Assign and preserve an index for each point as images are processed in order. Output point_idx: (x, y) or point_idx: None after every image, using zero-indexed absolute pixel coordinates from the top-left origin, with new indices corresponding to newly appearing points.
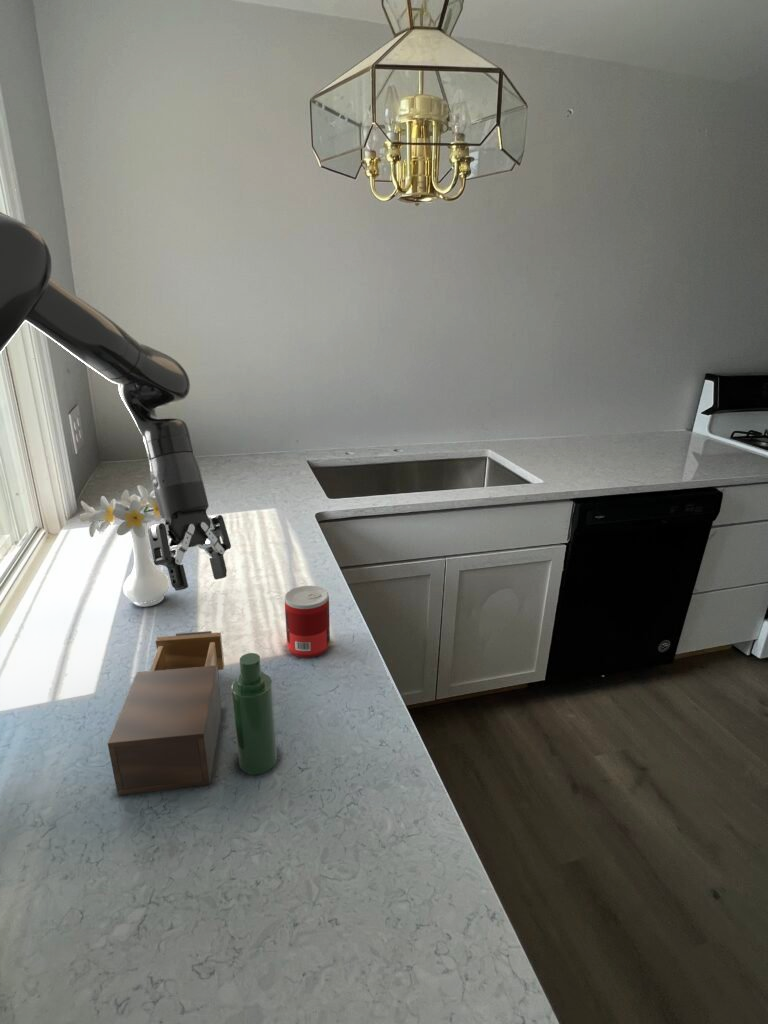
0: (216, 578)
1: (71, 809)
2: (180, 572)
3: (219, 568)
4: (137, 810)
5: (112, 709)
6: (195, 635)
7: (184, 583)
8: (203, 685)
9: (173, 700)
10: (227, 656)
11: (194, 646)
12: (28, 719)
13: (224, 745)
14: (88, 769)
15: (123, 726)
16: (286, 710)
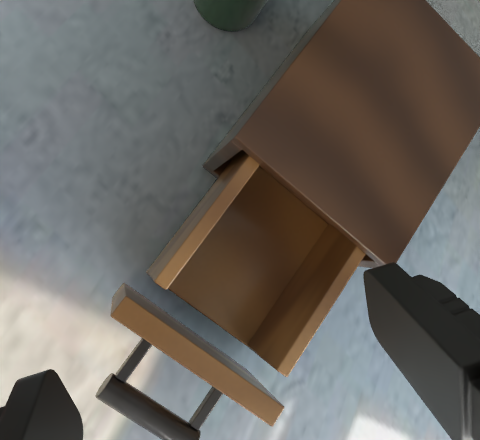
0: (76, 415)
1: None
2: (454, 323)
3: (41, 436)
4: None
5: (351, 334)
6: (182, 355)
7: (400, 273)
8: (303, 88)
9: (376, 97)
10: (70, 348)
11: (190, 337)
12: None
13: (249, 78)
14: None
15: (473, 104)
16: (95, 55)
